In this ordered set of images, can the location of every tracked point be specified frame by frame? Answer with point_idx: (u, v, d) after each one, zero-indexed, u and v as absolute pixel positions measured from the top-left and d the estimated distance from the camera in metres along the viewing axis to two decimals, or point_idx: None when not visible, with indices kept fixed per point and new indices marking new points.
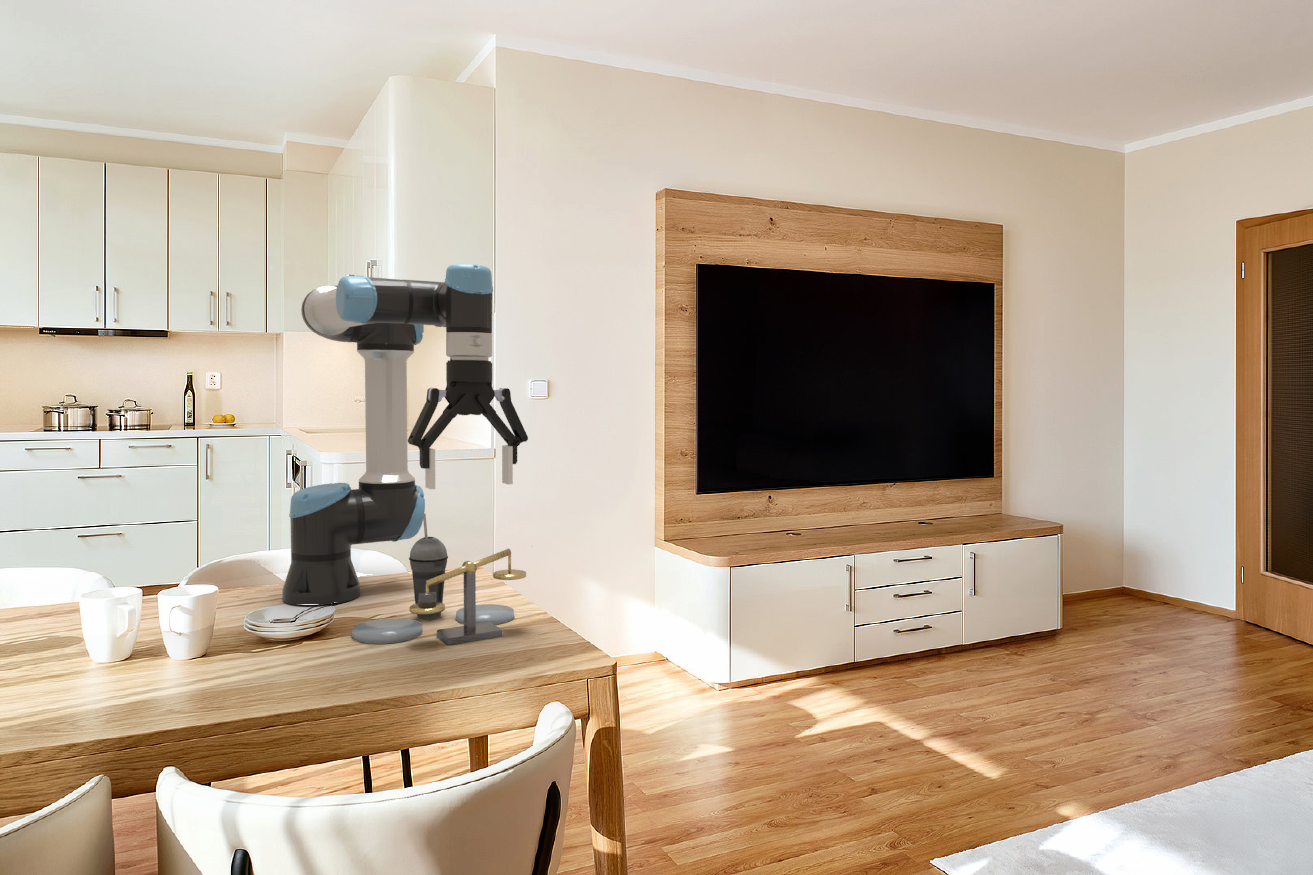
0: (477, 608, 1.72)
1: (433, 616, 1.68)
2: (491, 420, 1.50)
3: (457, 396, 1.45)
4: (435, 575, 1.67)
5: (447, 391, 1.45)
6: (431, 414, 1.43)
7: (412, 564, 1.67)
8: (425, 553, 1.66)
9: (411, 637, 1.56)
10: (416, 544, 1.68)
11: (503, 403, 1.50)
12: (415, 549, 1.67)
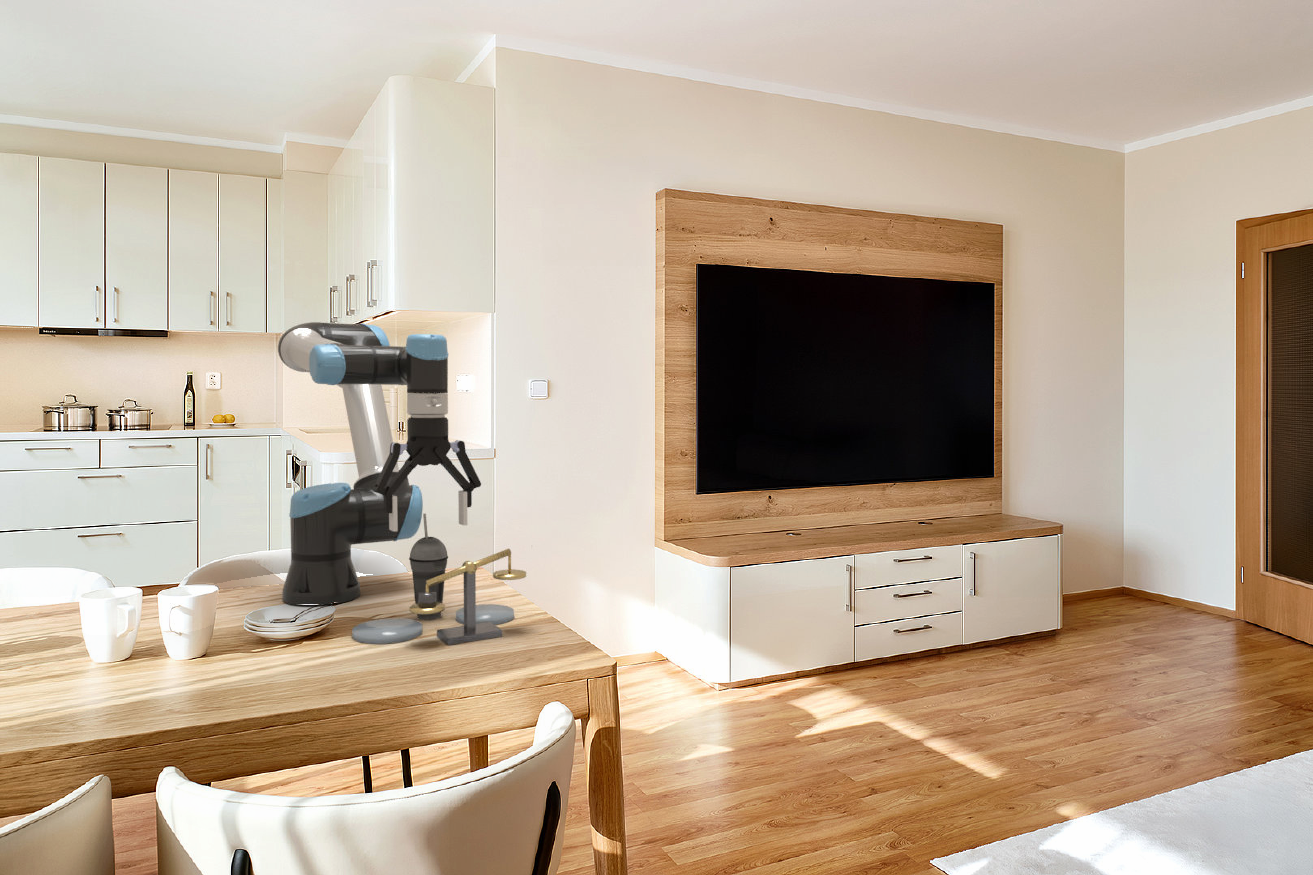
0: (477, 608, 1.72)
1: (433, 616, 1.68)
2: (448, 469, 1.70)
3: (417, 449, 1.65)
4: (435, 575, 1.67)
5: (408, 445, 1.65)
6: (393, 466, 1.63)
7: (412, 564, 1.67)
8: (425, 553, 1.66)
9: (411, 637, 1.56)
10: (416, 544, 1.68)
11: (458, 454, 1.71)
12: (416, 549, 1.67)
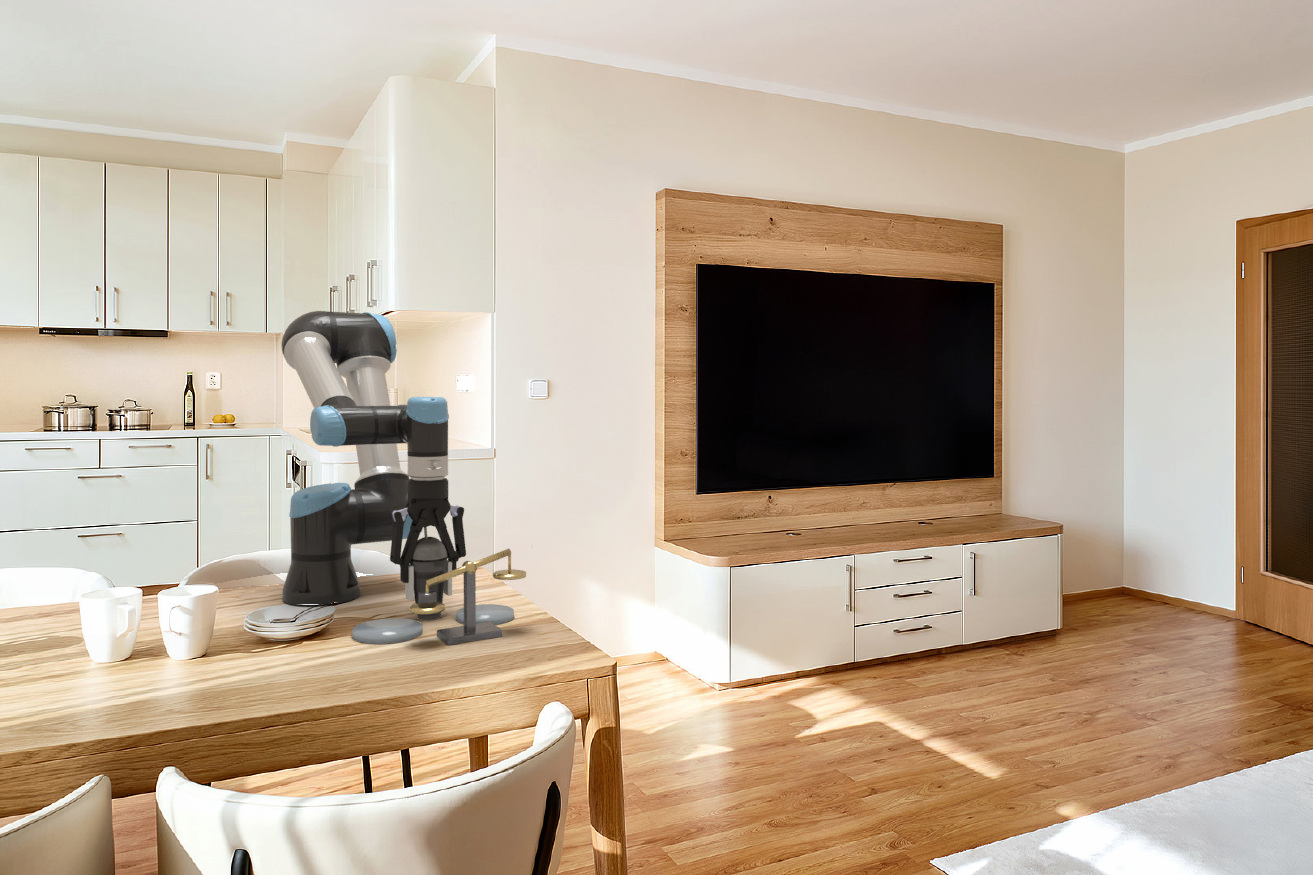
0: (477, 608, 1.72)
1: (433, 616, 1.68)
2: (440, 533, 1.70)
3: (417, 510, 1.66)
4: (435, 575, 1.67)
5: (407, 509, 1.66)
6: (401, 534, 1.65)
7: (412, 564, 1.67)
8: (425, 553, 1.66)
9: (411, 637, 1.56)
10: (416, 544, 1.68)
11: (455, 519, 1.71)
12: (415, 549, 1.67)
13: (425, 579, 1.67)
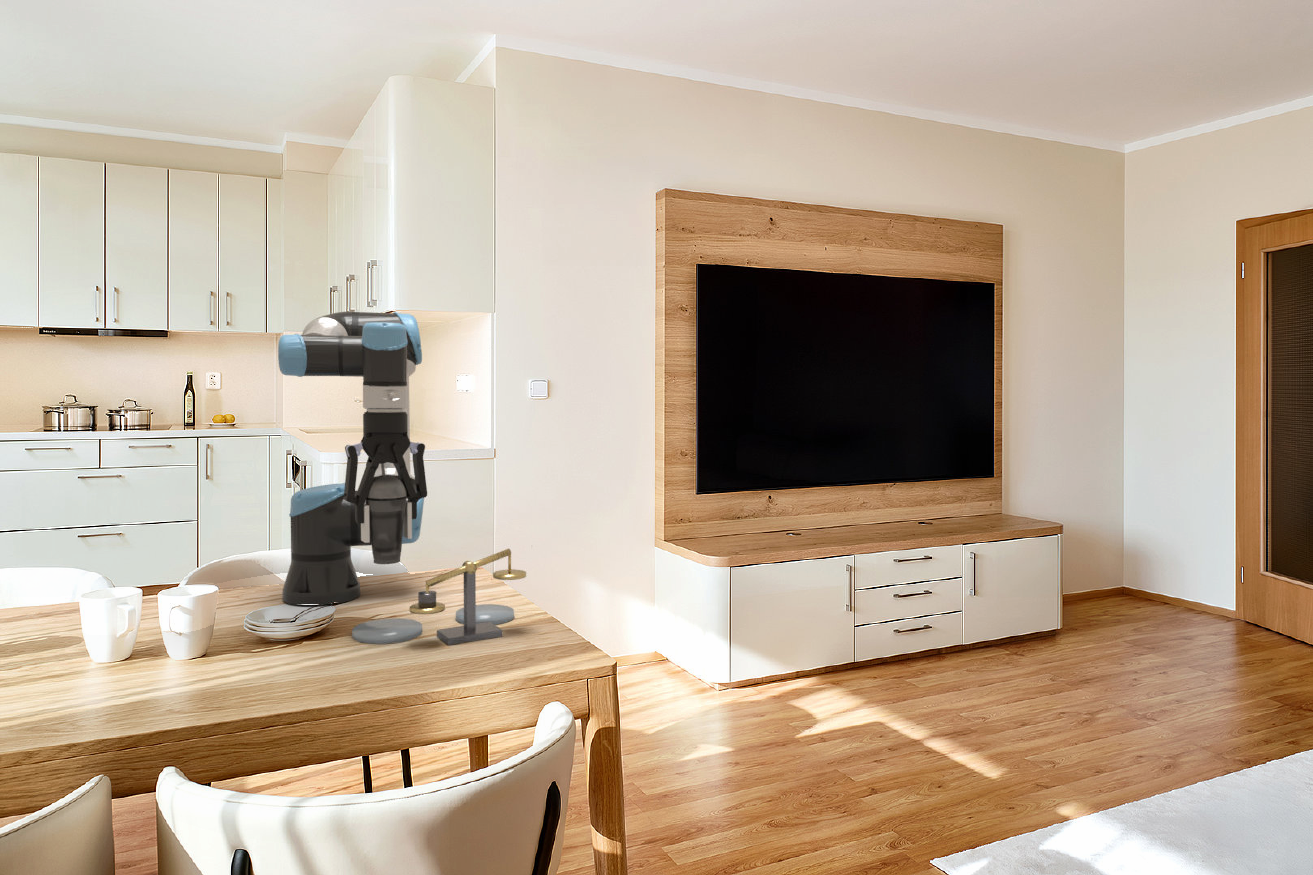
0: (477, 608, 1.72)
1: (391, 560, 1.56)
2: (399, 471, 1.58)
3: (373, 445, 1.54)
4: (393, 515, 1.55)
5: (362, 444, 1.54)
6: (355, 470, 1.53)
7: (368, 503, 1.55)
8: (382, 491, 1.54)
9: (411, 637, 1.56)
10: (372, 482, 1.55)
11: (415, 456, 1.59)
12: (371, 487, 1.54)
13: (382, 519, 1.54)
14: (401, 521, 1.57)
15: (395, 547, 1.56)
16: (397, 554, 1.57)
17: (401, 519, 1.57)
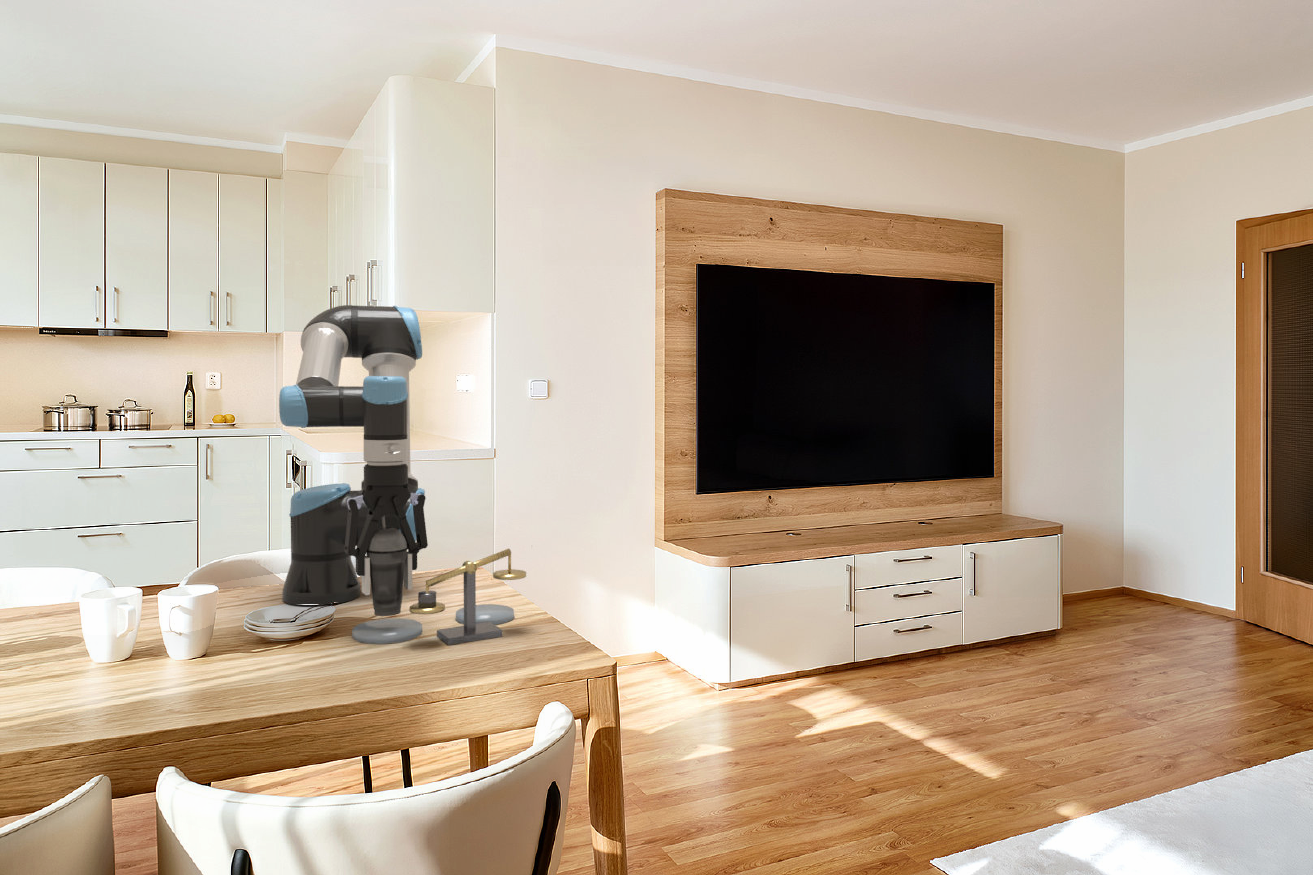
0: (477, 608, 1.72)
1: (391, 612, 1.57)
2: (399, 523, 1.58)
3: (374, 497, 1.55)
4: (393, 567, 1.55)
5: (363, 497, 1.54)
6: (356, 523, 1.53)
7: (368, 556, 1.55)
8: (382, 543, 1.54)
9: (411, 637, 1.56)
10: (373, 534, 1.56)
11: (415, 507, 1.60)
12: (372, 540, 1.55)
13: (382, 572, 1.55)
14: (401, 573, 1.57)
15: (395, 599, 1.57)
16: (397, 605, 1.57)
17: (401, 571, 1.57)
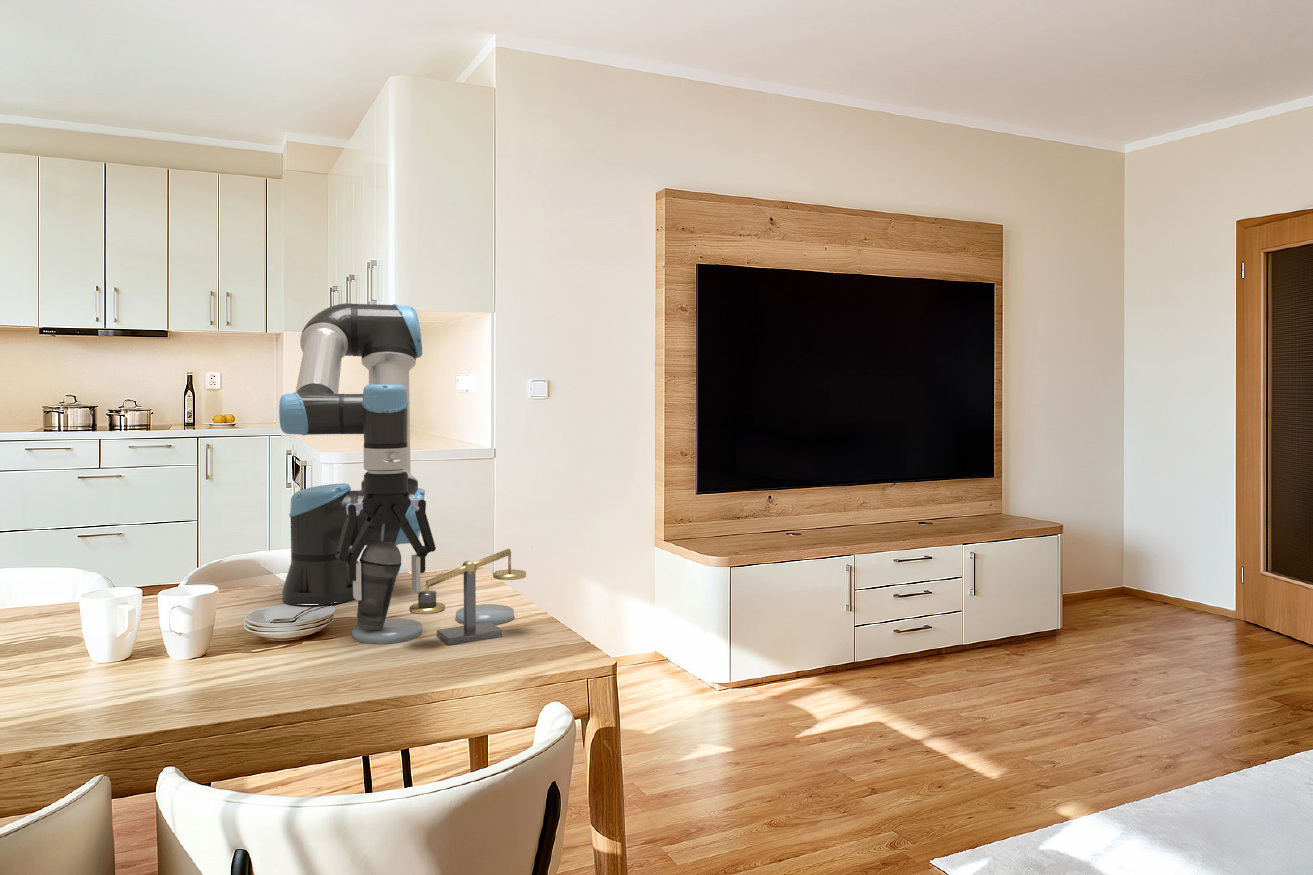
0: (477, 608, 1.72)
1: (374, 626, 1.55)
2: (403, 529, 1.59)
3: (374, 506, 1.55)
4: (384, 581, 1.55)
5: (363, 504, 1.54)
6: (352, 529, 1.53)
7: (362, 566, 1.55)
8: (378, 555, 1.54)
9: (411, 637, 1.56)
10: (370, 545, 1.56)
11: (417, 513, 1.60)
12: (368, 550, 1.55)
13: (373, 584, 1.54)
14: (391, 588, 1.57)
15: (381, 613, 1.56)
16: (381, 620, 1.56)
17: (392, 586, 1.57)
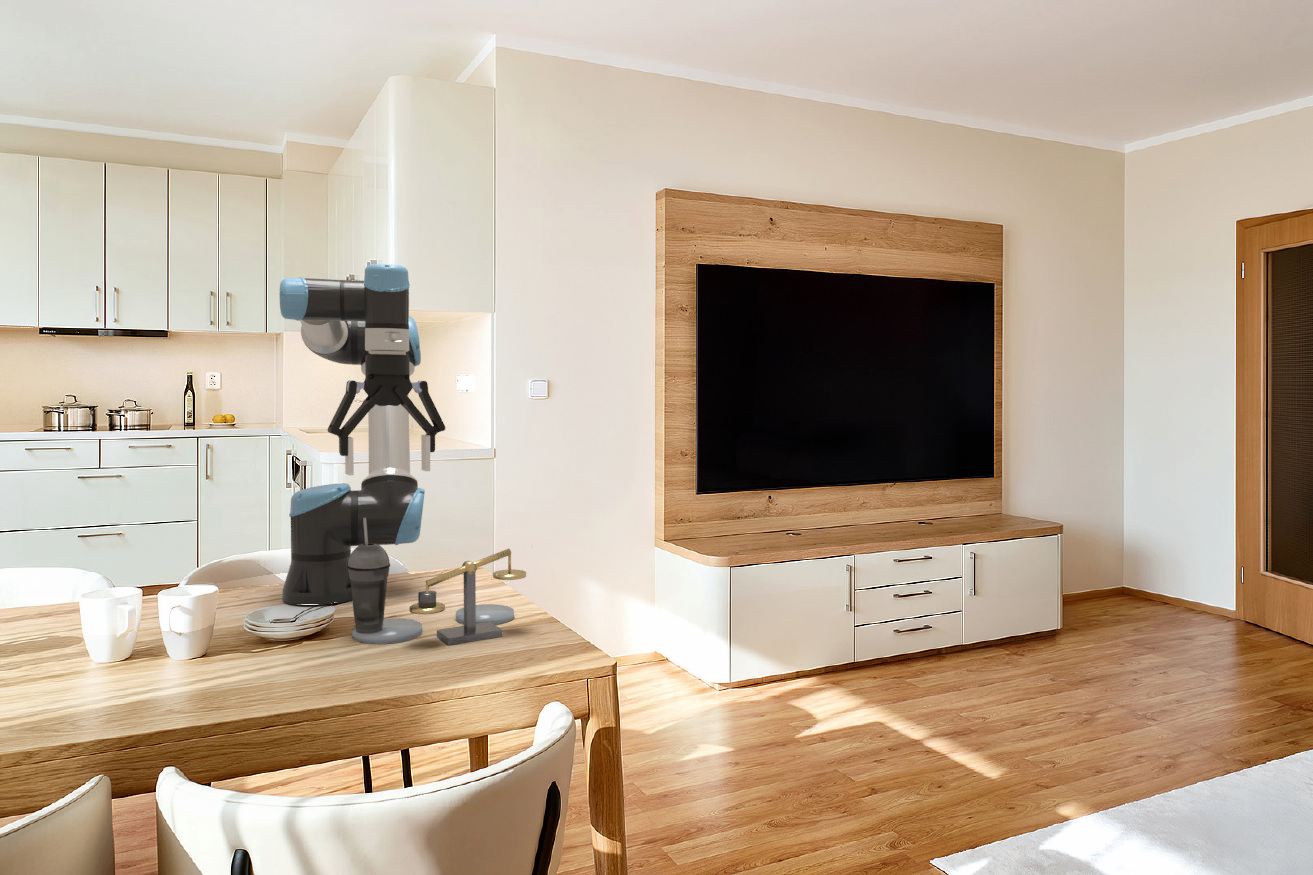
0: (477, 608, 1.72)
1: (373, 629, 1.55)
2: (409, 411, 1.59)
3: (375, 388, 1.55)
4: (375, 585, 1.54)
5: (365, 383, 1.54)
6: (349, 405, 1.52)
7: (350, 573, 1.54)
8: (364, 560, 1.53)
9: (411, 637, 1.56)
10: (355, 551, 1.54)
11: (421, 395, 1.60)
12: (354, 556, 1.54)
13: (364, 589, 1.53)
14: (384, 590, 1.56)
15: (377, 616, 1.55)
16: (379, 623, 1.56)
17: (384, 588, 1.56)
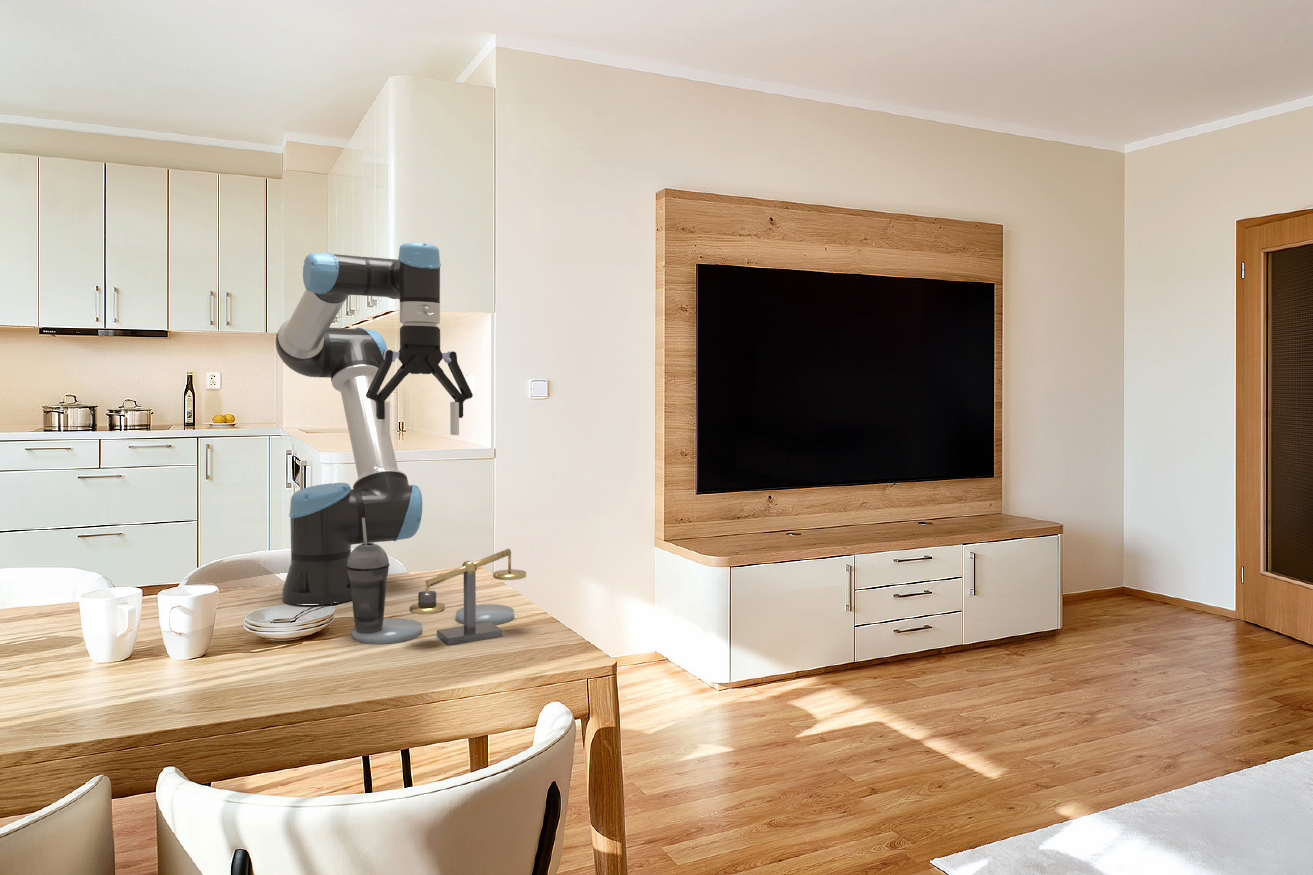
0: (477, 608, 1.72)
1: (373, 629, 1.55)
2: (440, 379, 1.72)
3: (409, 357, 1.68)
4: (375, 585, 1.54)
5: (400, 353, 1.67)
6: (386, 372, 1.65)
7: (349, 573, 1.54)
8: (363, 561, 1.53)
9: (411, 637, 1.56)
10: (354, 551, 1.54)
11: (450, 364, 1.73)
12: (353, 557, 1.54)
13: (364, 589, 1.53)
14: (383, 590, 1.56)
15: (377, 616, 1.55)
16: (379, 623, 1.56)
17: (383, 588, 1.56)
